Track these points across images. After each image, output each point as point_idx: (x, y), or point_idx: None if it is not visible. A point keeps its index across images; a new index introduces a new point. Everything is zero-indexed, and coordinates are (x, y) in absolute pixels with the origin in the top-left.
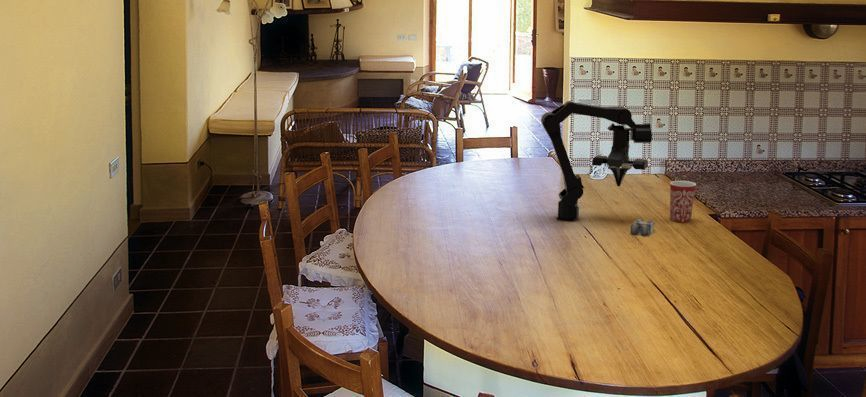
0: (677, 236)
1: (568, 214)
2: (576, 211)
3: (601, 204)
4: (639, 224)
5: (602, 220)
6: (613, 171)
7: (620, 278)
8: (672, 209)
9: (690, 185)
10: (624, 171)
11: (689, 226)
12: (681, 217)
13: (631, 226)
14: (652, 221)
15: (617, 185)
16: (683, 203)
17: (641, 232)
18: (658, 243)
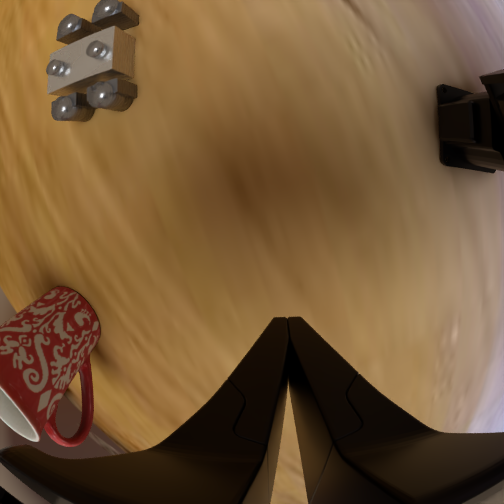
0: (13, 107)
1: (471, 94)
2: (457, 103)
3: (382, 393)
4: (92, 36)
5: (334, 158)
6: (419, 441)
7: None
8: (56, 315)
9: (10, 412)
10: (110, 456)
11: (24, 249)
12: (45, 294)
13: (122, 4)
14: (53, 107)
15: (297, 317)
16: (9, 319)
17: (94, 26)
18: (48, 2)
